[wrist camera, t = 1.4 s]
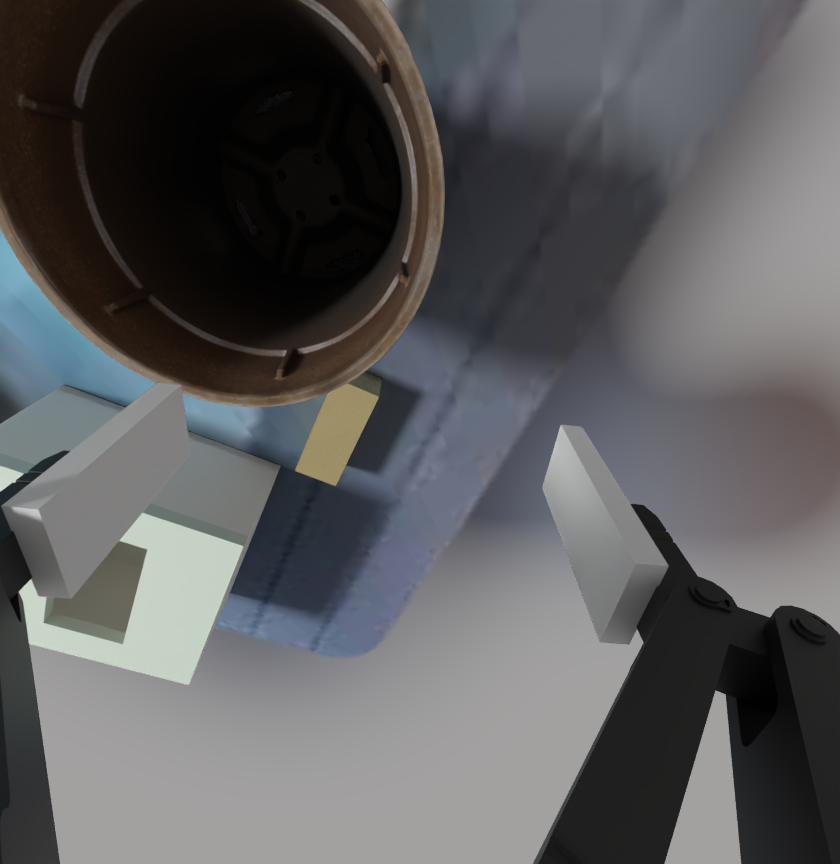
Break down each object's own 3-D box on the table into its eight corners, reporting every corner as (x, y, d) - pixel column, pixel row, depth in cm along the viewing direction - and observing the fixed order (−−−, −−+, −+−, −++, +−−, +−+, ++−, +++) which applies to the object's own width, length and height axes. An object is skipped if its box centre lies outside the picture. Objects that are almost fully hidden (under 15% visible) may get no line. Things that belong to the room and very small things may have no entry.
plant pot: (124, 132, 29) (-156, 100, 15) (336, -53, 25) (225, -339, 11) (289, 348, 36) (206, 465, 22) (476, 231, 32) (521, 283, 18)
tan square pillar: (304, 447, 40) (294, 470, 37) (341, 360, 36) (334, 377, 33) (341, 462, 41) (335, 486, 38) (382, 378, 37) (379, 397, 34)
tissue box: (47, 537, 45) (-42, 625, 37) (63, 384, 37) (-45, 451, 29) (229, 593, 49) (188, 685, 40) (280, 465, 41) (243, 546, 32)
